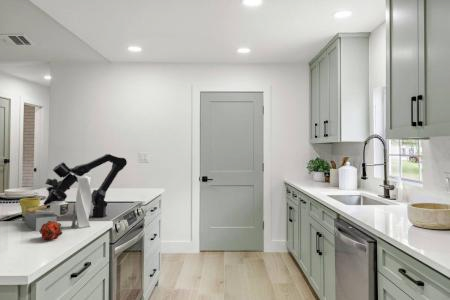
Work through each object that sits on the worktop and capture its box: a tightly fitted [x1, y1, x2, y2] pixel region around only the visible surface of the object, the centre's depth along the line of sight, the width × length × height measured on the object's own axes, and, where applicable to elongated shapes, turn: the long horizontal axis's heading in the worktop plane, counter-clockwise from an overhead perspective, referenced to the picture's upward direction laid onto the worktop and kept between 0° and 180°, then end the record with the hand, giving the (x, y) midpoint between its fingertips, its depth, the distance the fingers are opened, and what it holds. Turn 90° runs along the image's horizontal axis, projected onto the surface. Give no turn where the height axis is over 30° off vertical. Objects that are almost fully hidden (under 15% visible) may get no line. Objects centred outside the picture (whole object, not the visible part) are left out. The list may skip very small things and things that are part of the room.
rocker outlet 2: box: [35, 209, 55, 214], centre depth 165 cm, size 8×4×1 cm, turn 133°
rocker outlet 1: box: [28, 204, 48, 212], centre depth 174 cm, size 8×4×1 cm, turn 133°
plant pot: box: [19, 197, 41, 218], centre depth 194 cm, size 10×10×10 cm
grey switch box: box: [24, 208, 58, 232], centre depth 170 cm, size 10×22×6 cm, turn 43°
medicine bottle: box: [49, 197, 69, 217], centre depth 199 cm, size 7×7×12 cm
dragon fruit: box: [39, 221, 63, 242], centre depth 145 cm, size 8×8×12 cm
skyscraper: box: [71, 172, 94, 230], centre depth 170 cm, size 8×8×28 cm
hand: (44, 204), depth 177 cm, fingers closed
